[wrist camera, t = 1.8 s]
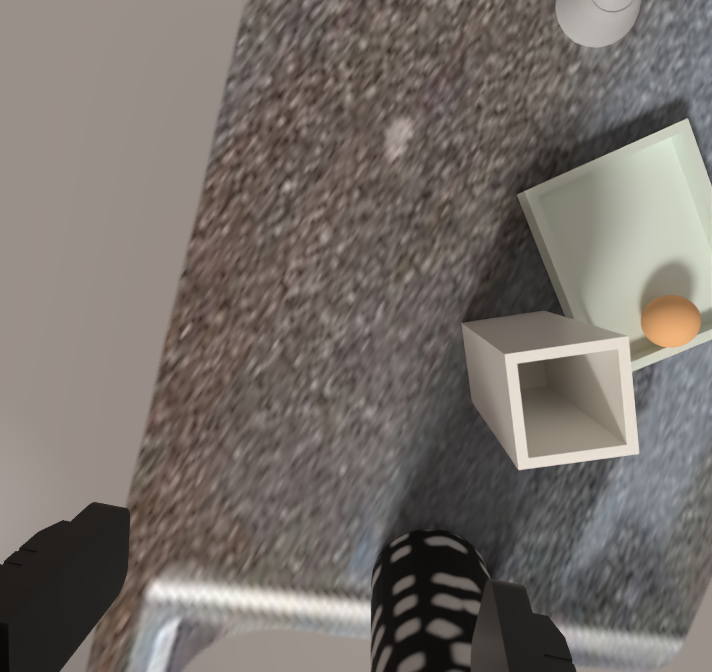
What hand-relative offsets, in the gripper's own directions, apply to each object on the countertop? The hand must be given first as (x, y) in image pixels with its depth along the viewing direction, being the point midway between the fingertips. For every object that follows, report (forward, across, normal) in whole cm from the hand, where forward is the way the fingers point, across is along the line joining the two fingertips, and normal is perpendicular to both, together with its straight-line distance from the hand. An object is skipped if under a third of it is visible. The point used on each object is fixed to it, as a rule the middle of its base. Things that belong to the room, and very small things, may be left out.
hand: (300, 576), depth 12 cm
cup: (+26, +9, -1) cm, 27 cm away
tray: (+27, +15, +7) cm, 31 cm away
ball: (+24, +18, +4) cm, 30 cm away
